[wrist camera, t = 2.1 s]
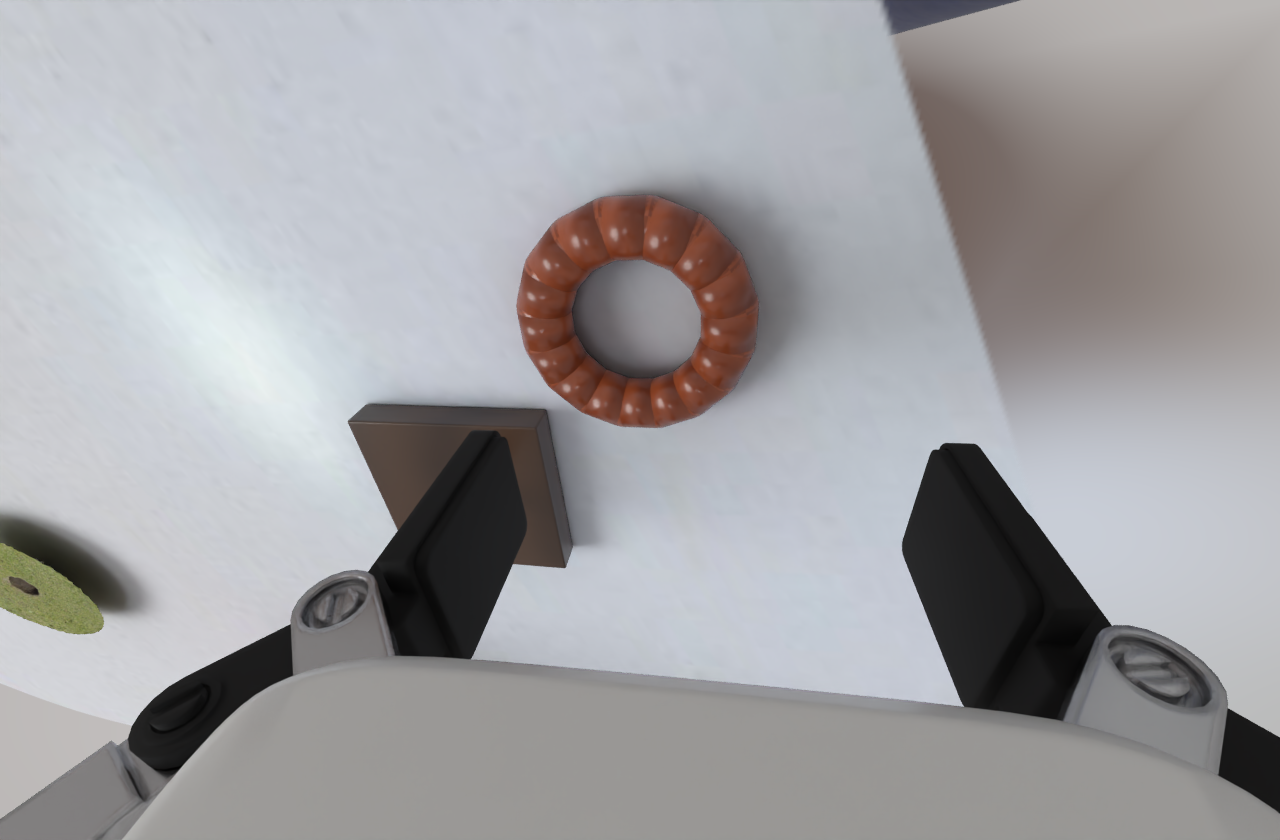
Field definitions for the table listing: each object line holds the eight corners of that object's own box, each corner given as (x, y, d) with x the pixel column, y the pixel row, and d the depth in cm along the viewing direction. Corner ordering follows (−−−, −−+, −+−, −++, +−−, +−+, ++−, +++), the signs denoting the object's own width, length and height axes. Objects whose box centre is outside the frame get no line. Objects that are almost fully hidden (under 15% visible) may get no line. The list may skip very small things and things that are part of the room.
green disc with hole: (-71, 502, 35) (-110, 522, 33) (68, 523, 34) (36, 545, 32) (34, 602, 41) (6, 623, 40) (155, 622, 40) (131, 645, 39)
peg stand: (546, 409, 23) (449, 583, 15) (573, 547, 28) (511, 731, 20) (365, 403, 24) (190, 559, 16) (422, 535, 29) (309, 704, 21)
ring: (765, 185, 16) (769, 197, 15) (748, 413, 21) (750, 441, 19) (507, 195, 18) (484, 207, 16) (548, 407, 22) (533, 433, 21)
